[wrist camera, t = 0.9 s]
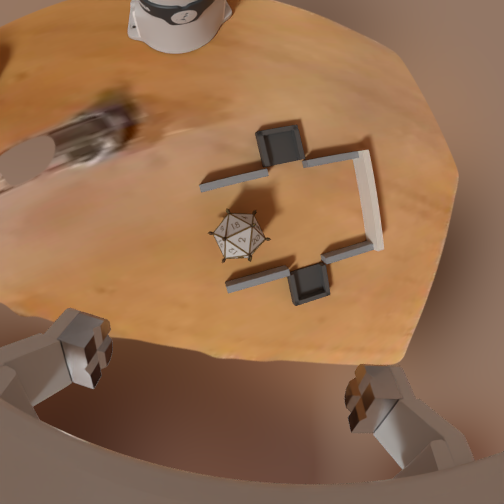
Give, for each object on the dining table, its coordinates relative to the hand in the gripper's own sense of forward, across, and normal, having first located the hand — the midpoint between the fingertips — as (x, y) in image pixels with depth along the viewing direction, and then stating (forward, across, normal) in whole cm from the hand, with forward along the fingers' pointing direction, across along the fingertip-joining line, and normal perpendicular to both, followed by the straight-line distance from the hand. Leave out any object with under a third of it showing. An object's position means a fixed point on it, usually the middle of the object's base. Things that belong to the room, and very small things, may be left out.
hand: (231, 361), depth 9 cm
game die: (+42, +2, +11) cm, 44 cm away
